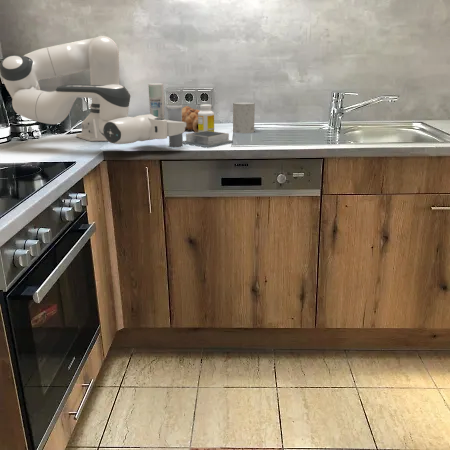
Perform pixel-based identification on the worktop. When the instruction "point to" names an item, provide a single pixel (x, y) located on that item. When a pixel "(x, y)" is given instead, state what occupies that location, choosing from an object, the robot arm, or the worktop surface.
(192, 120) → the orange brown lumpy figure
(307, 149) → the worktop surface
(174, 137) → the post
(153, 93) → the spray can
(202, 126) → the supplement bottle
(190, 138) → the grey square tray
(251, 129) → the grey cylinder
